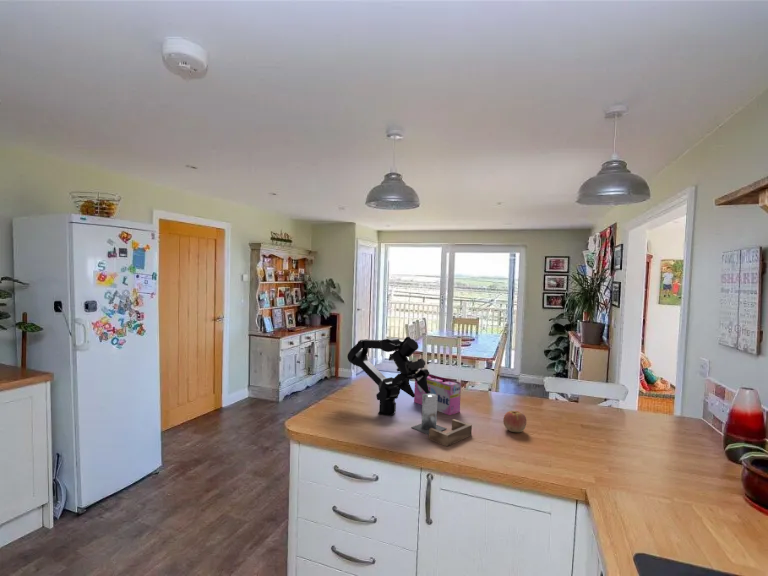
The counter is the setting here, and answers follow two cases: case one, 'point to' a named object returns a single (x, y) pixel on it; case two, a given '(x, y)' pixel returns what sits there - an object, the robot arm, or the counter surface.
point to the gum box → (441, 393)
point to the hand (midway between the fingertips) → (421, 395)
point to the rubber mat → (418, 427)
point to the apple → (514, 421)
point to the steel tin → (429, 411)
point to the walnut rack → (451, 433)
